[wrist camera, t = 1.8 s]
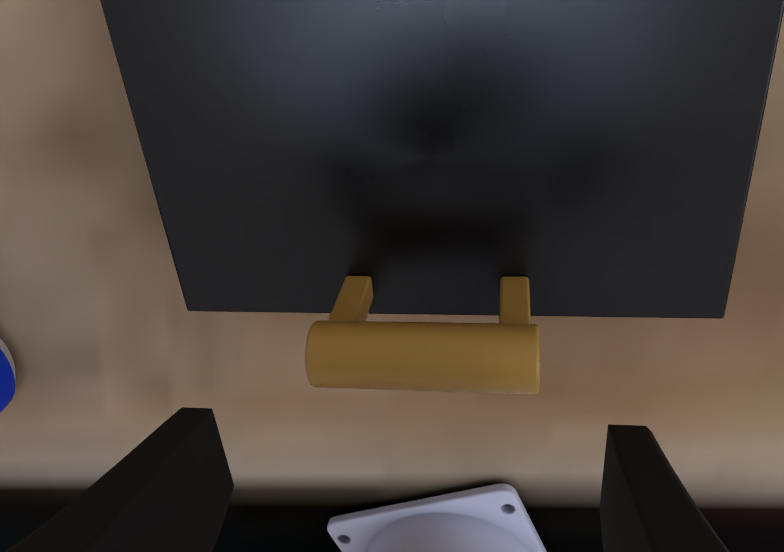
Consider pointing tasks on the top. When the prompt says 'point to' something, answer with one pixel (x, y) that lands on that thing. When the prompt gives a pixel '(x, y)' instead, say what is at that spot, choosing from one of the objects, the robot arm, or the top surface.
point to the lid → (448, 166)
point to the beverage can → (6, 376)
